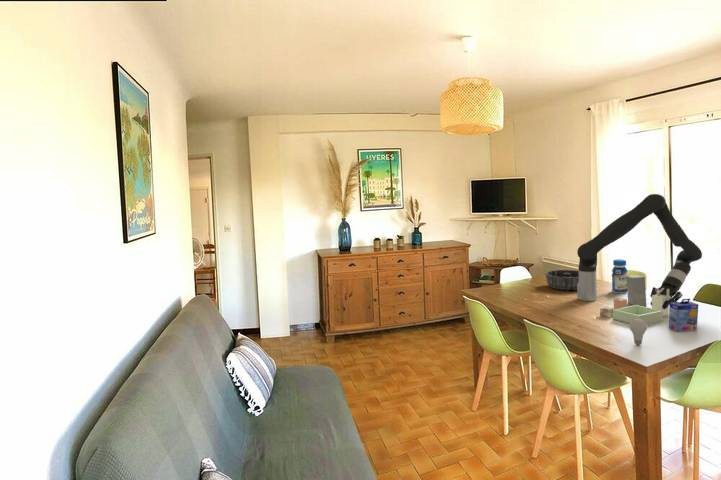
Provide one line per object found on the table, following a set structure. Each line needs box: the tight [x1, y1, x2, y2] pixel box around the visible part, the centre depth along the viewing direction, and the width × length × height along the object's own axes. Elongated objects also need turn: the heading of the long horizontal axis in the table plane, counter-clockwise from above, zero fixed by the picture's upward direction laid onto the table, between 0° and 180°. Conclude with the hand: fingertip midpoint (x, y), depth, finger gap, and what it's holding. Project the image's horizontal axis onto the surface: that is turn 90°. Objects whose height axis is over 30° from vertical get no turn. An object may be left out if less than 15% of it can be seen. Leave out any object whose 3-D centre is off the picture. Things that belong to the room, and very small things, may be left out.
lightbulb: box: [628, 319, 648, 346], centre depth 176 cm, size 6×6×11 cm
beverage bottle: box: [611, 258, 629, 294], centre depth 264 cm, size 8×8×20 cm
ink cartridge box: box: [668, 298, 699, 333], centre depth 191 cm, size 10×6×14 cm, turn 95°
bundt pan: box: [544, 269, 579, 291], centre depth 284 cm, size 26×26×10 cm
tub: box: [612, 305, 664, 326], centre depth 209 cm, size 13×16×5 cm
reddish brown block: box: [613, 297, 628, 310], centre depth 222 cm, size 6×6×7 cm
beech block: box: [599, 305, 614, 319], centre depth 218 cm, size 4×4×4 cm
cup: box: [651, 295, 669, 318], centre depth 214 cm, size 5×5×10 cm
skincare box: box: [626, 274, 647, 307], centre depth 236 cm, size 8×7×16 cm
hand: (657, 306), depth 213 cm, fingers closed on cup, 5 cm apart
